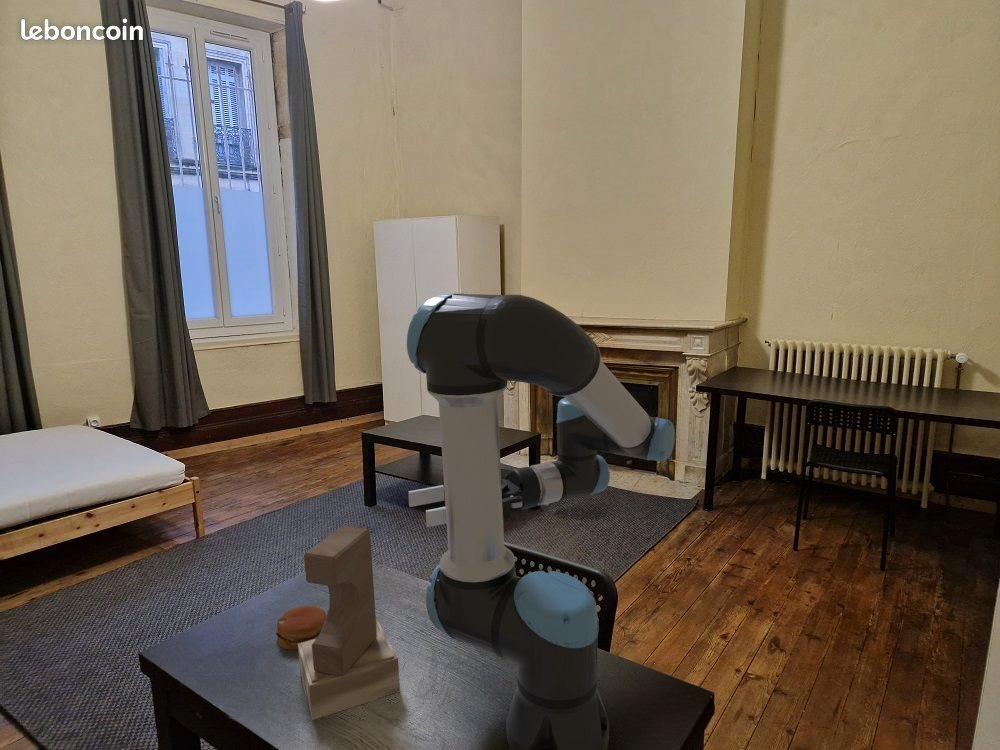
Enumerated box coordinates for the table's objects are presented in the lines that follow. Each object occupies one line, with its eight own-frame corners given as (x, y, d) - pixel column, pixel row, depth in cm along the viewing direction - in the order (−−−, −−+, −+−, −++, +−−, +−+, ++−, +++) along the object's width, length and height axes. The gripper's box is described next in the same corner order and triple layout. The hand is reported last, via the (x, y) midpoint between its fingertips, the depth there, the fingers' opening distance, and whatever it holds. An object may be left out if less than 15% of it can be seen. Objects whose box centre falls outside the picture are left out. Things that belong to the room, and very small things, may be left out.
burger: (338, 636, 117) (336, 613, 116) (292, 658, 110) (289, 635, 110) (313, 616, 124) (311, 595, 123) (268, 636, 117) (266, 614, 116)
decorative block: (342, 679, 95) (333, 558, 91) (311, 671, 97) (301, 553, 93) (379, 638, 105) (372, 528, 101) (350, 632, 107) (342, 524, 103)
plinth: (399, 691, 101) (397, 656, 100) (312, 720, 95) (309, 683, 94) (380, 651, 111) (378, 619, 110) (300, 675, 105) (297, 642, 104)
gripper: (563, 526, 106) (440, 555, 97) (507, 486, 125) (400, 507, 116) (562, 485, 105) (438, 510, 95) (507, 451, 124) (398, 469, 115)
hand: (417, 508), depth 106 cm, fingers open, 9 cm apart
